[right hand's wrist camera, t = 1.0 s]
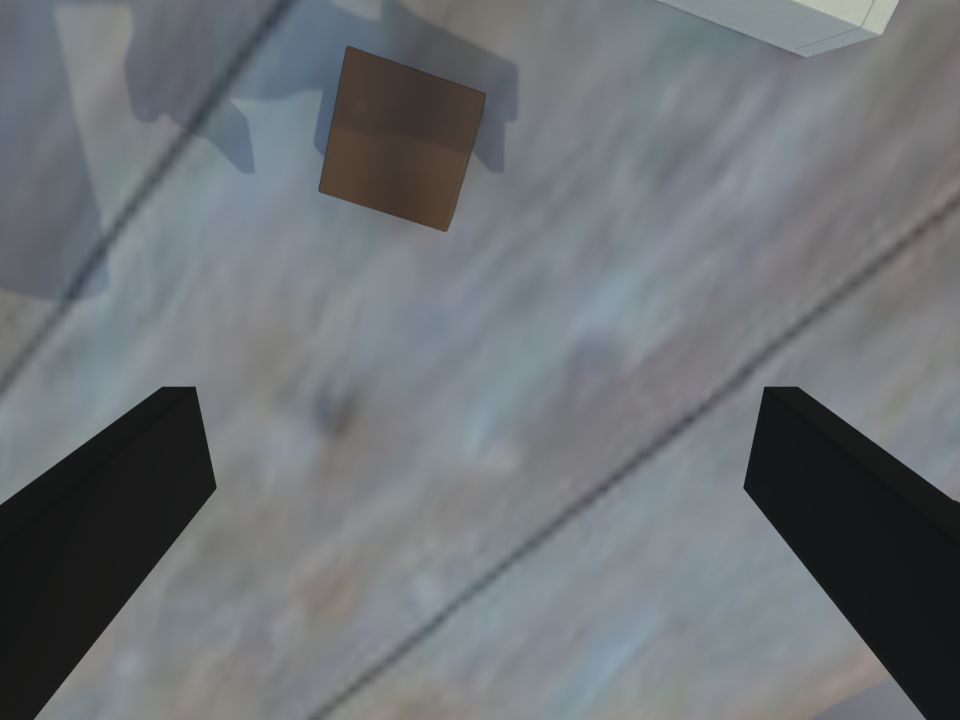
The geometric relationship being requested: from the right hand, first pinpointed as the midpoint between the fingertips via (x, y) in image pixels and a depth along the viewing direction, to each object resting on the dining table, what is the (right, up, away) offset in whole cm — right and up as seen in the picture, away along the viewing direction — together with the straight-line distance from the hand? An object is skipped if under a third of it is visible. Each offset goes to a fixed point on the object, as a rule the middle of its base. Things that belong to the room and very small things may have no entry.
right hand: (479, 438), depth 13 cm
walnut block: (-4, +13, +16) cm, 21 cm away
